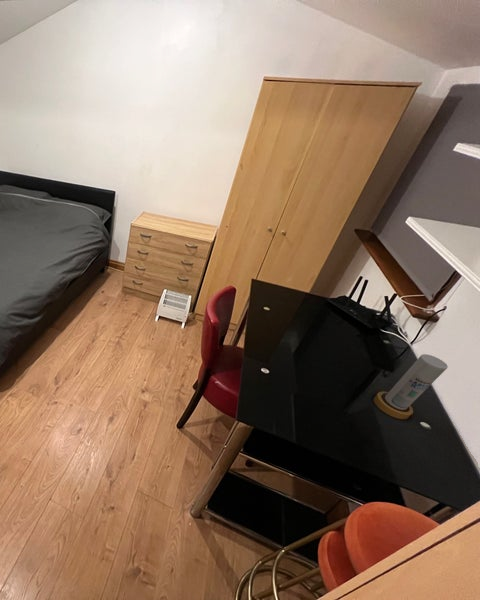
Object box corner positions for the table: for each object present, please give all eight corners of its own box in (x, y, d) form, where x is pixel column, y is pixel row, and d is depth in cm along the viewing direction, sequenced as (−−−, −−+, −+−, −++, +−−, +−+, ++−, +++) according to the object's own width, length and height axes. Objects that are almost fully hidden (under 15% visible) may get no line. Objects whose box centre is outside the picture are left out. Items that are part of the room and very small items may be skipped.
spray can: (401, 398, 115) (440, 357, 104) (411, 412, 110) (452, 370, 99) (380, 392, 116) (416, 351, 105) (388, 406, 111) (427, 364, 100)
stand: (414, 414, 112) (419, 409, 111) (398, 422, 109) (403, 417, 107) (383, 393, 120) (388, 388, 119) (367, 400, 117) (371, 395, 115)
